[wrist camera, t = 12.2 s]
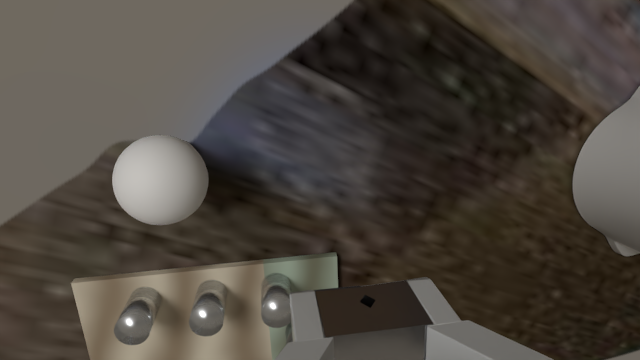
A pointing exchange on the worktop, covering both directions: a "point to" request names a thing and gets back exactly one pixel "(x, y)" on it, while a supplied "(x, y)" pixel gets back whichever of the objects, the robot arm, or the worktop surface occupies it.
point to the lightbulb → (160, 180)
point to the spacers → (202, 309)
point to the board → (177, 301)
